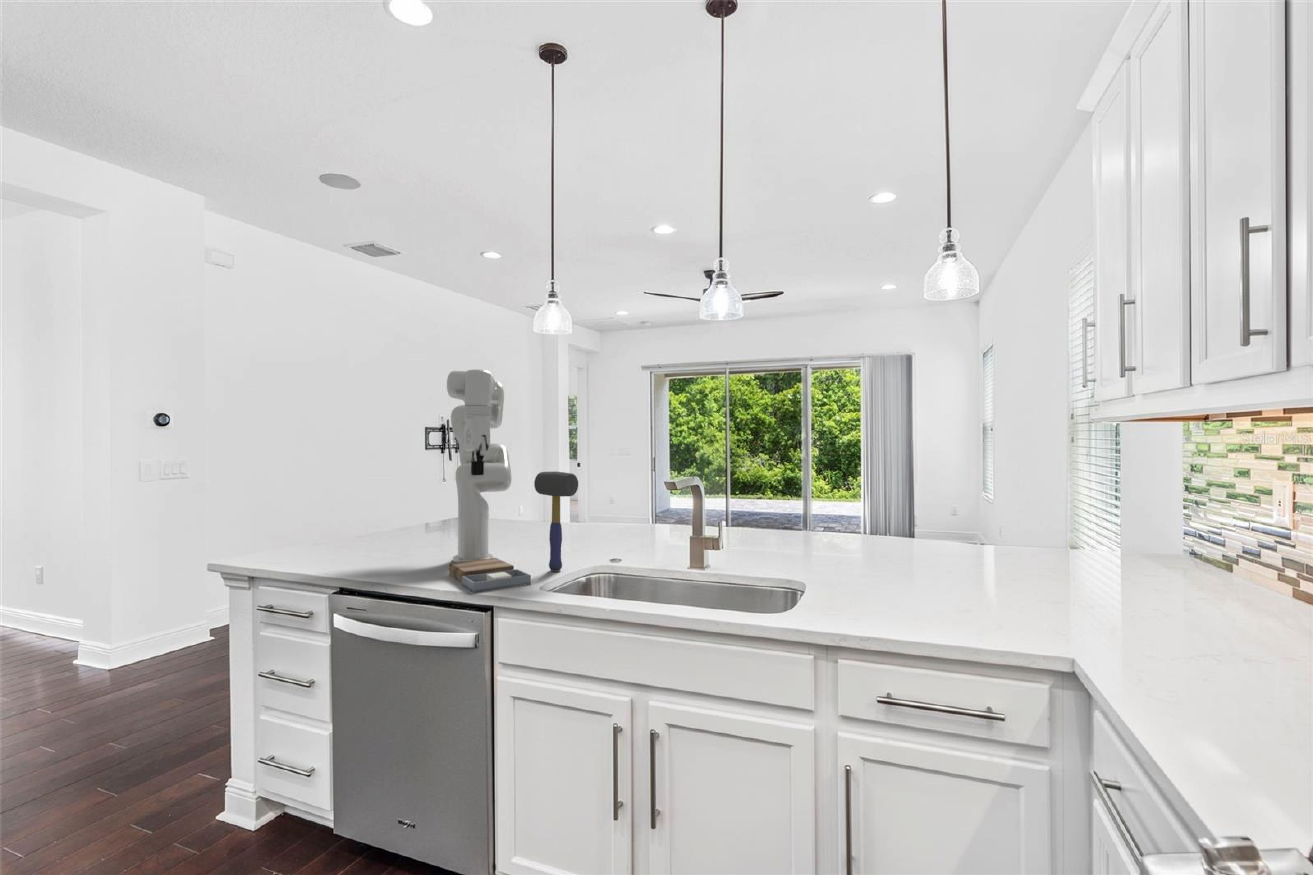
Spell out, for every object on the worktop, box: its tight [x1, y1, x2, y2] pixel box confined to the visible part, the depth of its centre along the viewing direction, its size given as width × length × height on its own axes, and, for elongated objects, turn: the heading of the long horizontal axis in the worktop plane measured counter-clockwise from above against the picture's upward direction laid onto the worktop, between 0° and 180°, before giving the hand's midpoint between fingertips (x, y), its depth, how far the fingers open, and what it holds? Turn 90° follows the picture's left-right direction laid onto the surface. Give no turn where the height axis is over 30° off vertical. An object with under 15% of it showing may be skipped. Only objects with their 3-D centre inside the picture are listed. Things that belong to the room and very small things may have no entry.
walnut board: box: [448, 557, 515, 584], centre depth 178 cm, size 14×14×4 cm
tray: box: [461, 568, 532, 593], centre depth 168 cm, size 9×16×2 cm, turn 126°
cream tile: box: [487, 572, 511, 581], centre depth 167 cm, size 5×5×2 cm
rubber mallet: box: [533, 471, 579, 573], centre depth 186 cm, size 12×8×30 cm, turn 60°
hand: (477, 474), depth 181 cm, fingers closed
